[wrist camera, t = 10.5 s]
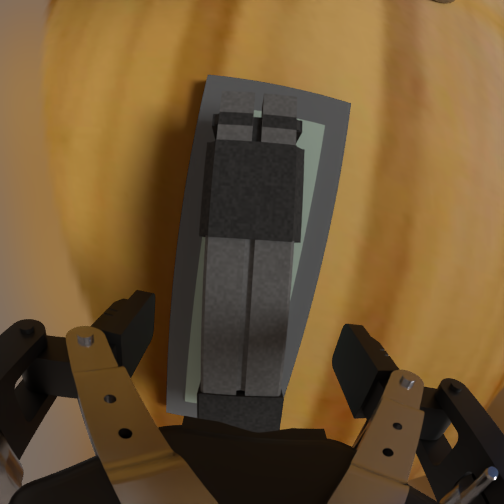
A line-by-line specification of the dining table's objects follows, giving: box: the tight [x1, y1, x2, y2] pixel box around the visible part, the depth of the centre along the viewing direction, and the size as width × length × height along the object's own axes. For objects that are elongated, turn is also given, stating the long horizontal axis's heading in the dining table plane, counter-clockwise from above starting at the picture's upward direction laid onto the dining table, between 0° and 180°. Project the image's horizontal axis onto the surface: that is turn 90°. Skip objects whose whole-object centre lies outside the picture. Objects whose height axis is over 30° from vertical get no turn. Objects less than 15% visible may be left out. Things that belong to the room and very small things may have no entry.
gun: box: [197, 91, 305, 433], centre depth 16 cm, size 4×20×10 cm, turn 176°
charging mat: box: [167, 75, 351, 418], centre depth 18 cm, size 25×9×1 cm, turn 170°
